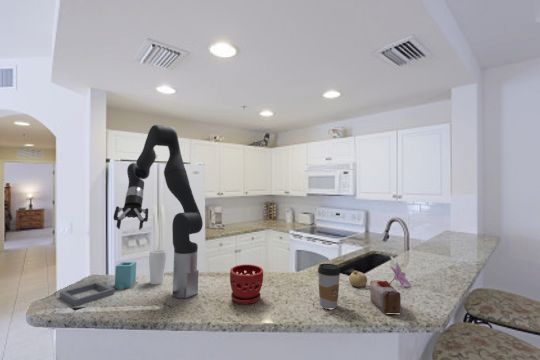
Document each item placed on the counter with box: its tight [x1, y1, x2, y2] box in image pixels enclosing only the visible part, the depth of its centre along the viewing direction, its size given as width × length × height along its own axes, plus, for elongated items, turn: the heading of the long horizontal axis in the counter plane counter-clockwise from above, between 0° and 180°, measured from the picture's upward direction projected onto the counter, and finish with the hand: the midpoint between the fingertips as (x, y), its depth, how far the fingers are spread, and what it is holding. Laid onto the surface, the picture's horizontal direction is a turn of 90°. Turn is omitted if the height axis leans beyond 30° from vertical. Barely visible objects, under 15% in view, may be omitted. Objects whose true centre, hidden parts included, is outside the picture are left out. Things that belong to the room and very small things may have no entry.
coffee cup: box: [317, 263, 341, 309], centre depth 100 cm, size 8×8×15 cm
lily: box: [389, 262, 412, 290], centre depth 124 cm, size 12×12×10 cm
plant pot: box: [229, 264, 264, 305], centre depth 104 cm, size 13×13×12 cm
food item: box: [369, 279, 402, 314], centre depth 100 cm, size 14×8×10 cm, turn 3°
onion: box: [348, 270, 368, 288], centre depth 122 cm, size 8×8×7 cm
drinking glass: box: [148, 249, 167, 285], centre depth 117 cm, size 7×7×15 cm
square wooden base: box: [112, 281, 139, 290], centre depth 112 cm, size 8×8×8 cm
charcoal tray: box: [59, 281, 115, 312], centre depth 100 cm, size 13×13×4 cm
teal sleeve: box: [114, 261, 137, 291], centre depth 111 cm, size 6×8×9 cm
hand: (129, 228), depth 120 cm, fingers open, 8 cm apart
